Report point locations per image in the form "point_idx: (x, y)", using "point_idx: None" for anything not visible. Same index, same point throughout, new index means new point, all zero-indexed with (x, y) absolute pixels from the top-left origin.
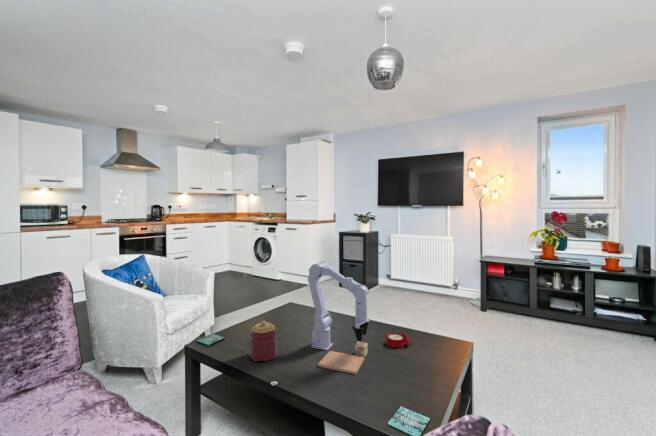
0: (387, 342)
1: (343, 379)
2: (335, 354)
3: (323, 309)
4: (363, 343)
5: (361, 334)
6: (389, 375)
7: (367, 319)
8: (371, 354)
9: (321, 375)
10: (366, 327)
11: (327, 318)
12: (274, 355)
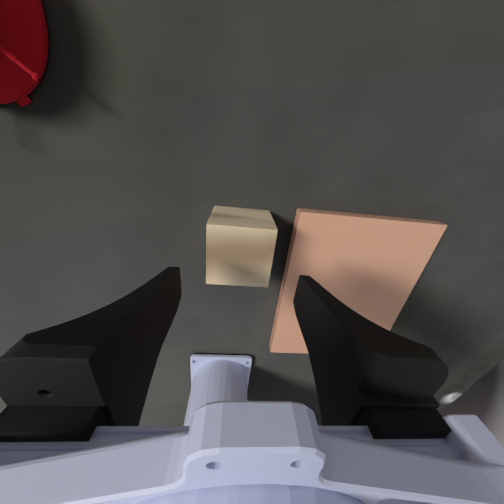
0: (14, 76)
1: (469, 257)
2: (297, 329)
3: None
4: (221, 248)
5: (353, 313)
6: (476, 14)
7: (196, 485)
8: (226, 180)
9: (429, 324)
10: (147, 307)
11: None
12: None
